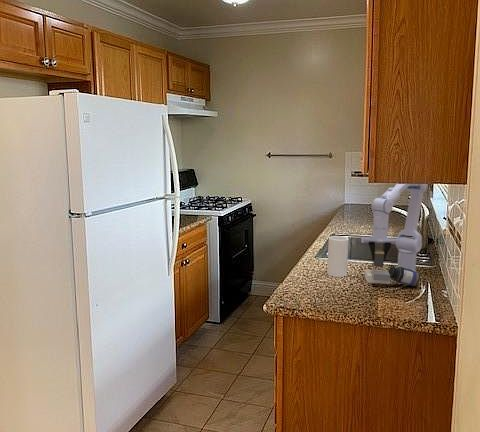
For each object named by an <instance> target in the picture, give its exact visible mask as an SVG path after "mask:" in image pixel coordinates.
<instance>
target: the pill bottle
mask: <svg viewBox="0 0 480 432" xmlns="http://www.w3.org/2000/svg"><path fill="white" fill-rule="evenodd" d="M387 271H388V272H389V274H390V278H391V279H393V280H394V281H395V282H396V283H400V284H404V285H408V286H411V287H417V286H418V285H419V284H420V280H421V273H420V272H419V271H417V270H416V271H414V270H410V269H407V268H403V267H397V268H396V266H390V267H389V269H388V270H387Z"/></svg>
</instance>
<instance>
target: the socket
mask: <svg viewBox="0 0 480 432" xmlns="http://www.w3.org/2000/svg"><path fill="white" fill-rule="evenodd" d="M372 270H373V269H364V278H365V281H366V283H369V284H384V285H385V284H386V285H387V284H388V285H391V278H390V281H381V280H374V279H373V277H372ZM379 270H380V271H383V270H381V269H379Z"/></svg>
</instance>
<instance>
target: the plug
mask: <svg viewBox="0 0 480 432" xmlns="http://www.w3.org/2000/svg"><path fill="white" fill-rule="evenodd" d="M372 262H373V267H382V268H384V263H385V261H384V251H383V249H380V250H379V249H375V259H374V261H373V260H372Z"/></svg>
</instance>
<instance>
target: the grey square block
mask: <svg viewBox="0 0 480 432" xmlns="http://www.w3.org/2000/svg"><path fill="white" fill-rule="evenodd" d="M371 270H372V277H373V279H374V280H381V281H390V282H391V280H390V274H389V272H388V271H389V270H382V271H380V270H381V269H371Z"/></svg>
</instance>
